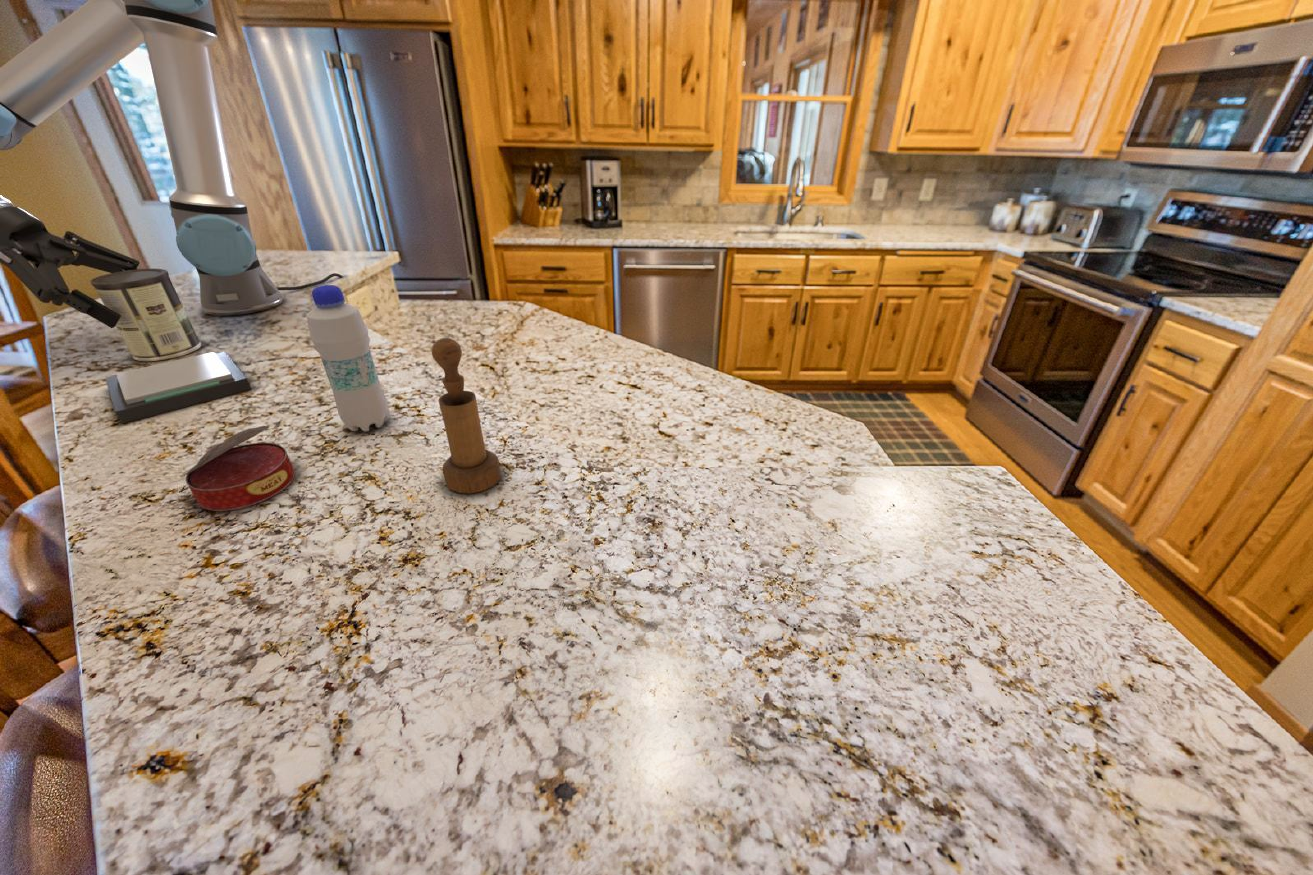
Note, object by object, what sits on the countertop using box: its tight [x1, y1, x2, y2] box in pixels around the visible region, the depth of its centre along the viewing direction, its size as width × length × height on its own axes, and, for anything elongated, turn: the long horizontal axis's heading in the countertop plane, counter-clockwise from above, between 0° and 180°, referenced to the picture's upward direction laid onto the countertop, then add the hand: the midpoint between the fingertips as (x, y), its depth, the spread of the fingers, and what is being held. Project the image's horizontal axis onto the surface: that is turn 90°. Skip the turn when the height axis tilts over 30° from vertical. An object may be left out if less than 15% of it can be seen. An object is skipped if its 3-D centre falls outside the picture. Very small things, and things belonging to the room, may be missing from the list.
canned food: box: [179, 425, 296, 512], centre depth 62 cm, size 11×10×10 cm
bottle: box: [306, 284, 390, 432], centre depth 71 cm, size 7×7×20 cm
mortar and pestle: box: [431, 337, 502, 494], centre depth 61 cm, size 7×6×18 cm
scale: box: [104, 351, 252, 425], centre depth 85 cm, size 16×16×3 cm
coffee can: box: [89, 268, 202, 362], centre depth 96 cm, size 10×10×14 cm
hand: (144, 309), depth 95 cm, fingers open, 13 cm apart
